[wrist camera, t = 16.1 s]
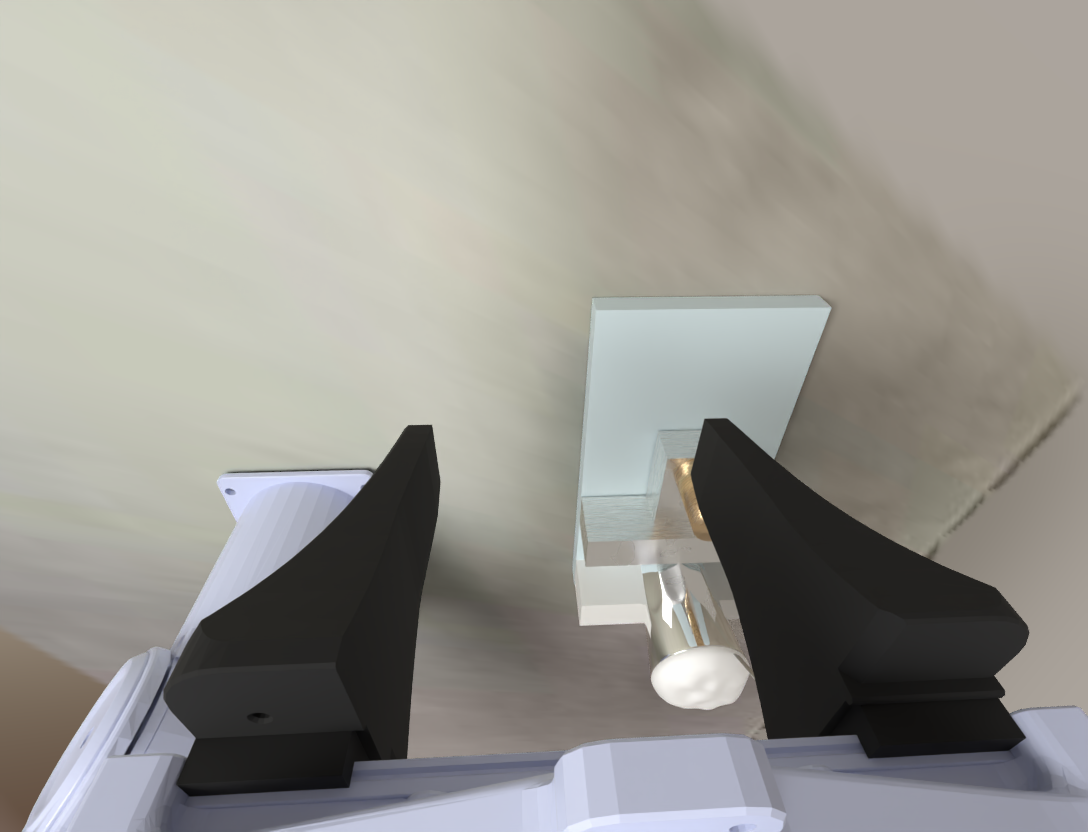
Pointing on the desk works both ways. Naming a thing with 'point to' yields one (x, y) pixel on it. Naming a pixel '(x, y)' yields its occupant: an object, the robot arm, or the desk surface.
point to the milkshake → (689, 638)
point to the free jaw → (651, 514)
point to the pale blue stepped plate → (681, 403)
